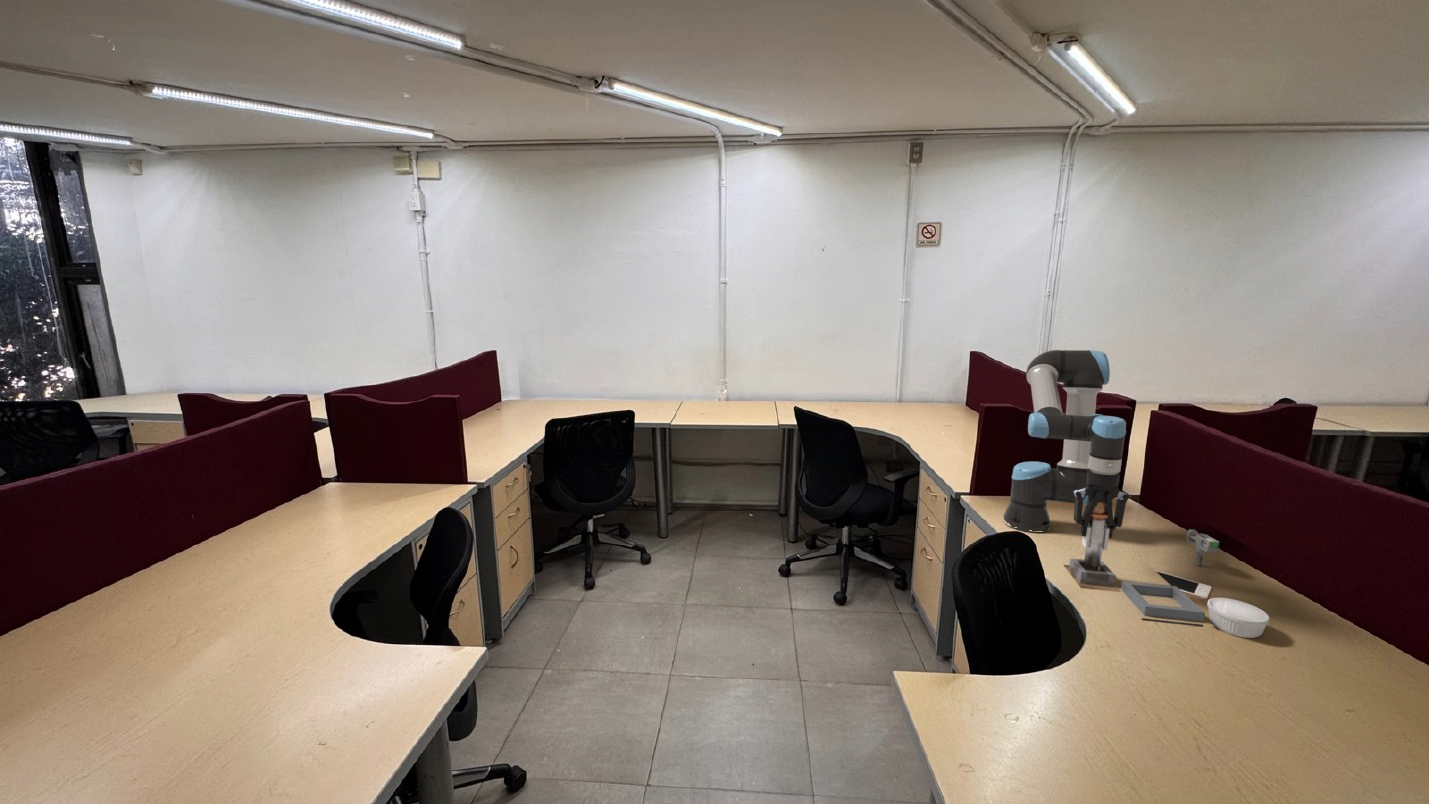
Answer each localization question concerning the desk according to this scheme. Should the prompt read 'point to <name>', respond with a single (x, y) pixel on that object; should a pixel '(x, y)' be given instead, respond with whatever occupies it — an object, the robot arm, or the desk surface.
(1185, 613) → the tray
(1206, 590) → the cell phone
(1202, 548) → the mechanical component
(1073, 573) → the block
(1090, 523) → the glass jar with lid
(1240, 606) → the ramekin
